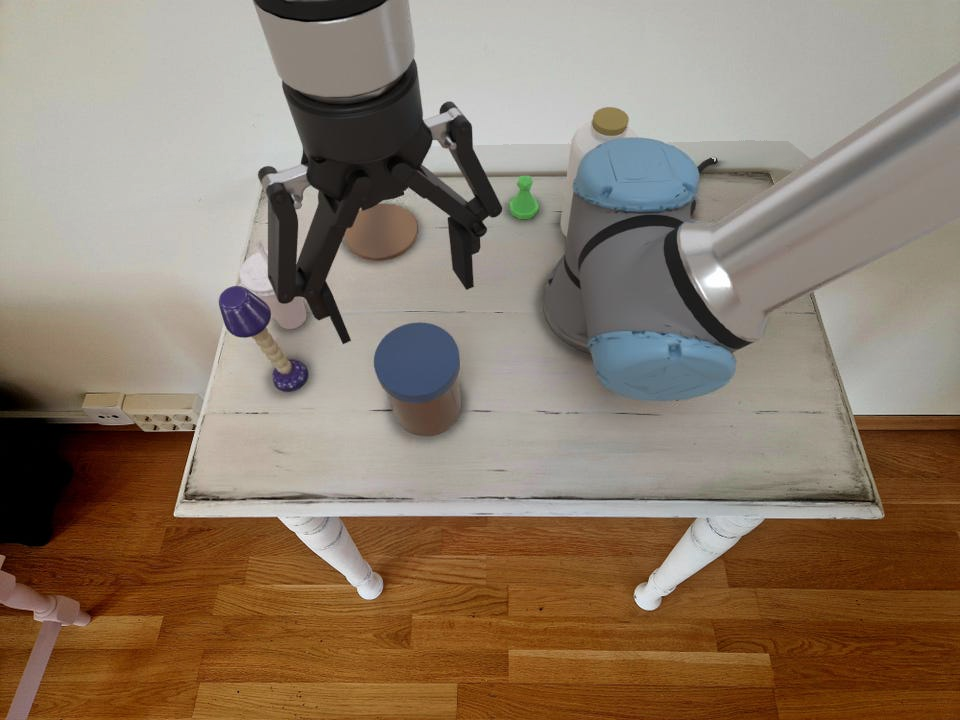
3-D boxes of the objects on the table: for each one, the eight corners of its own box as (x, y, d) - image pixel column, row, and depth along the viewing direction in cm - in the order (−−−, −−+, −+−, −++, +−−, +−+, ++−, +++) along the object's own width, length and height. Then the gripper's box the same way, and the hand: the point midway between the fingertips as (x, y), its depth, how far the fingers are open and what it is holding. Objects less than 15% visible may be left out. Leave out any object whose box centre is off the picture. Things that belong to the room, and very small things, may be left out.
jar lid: (438, 319, 62) (436, 309, 61) (475, 379, 58) (474, 371, 57) (364, 352, 60) (360, 343, 59) (397, 417, 56) (394, 410, 55)
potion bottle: (603, 202, 83) (628, 89, 68) (628, 242, 79) (660, 132, 64) (550, 216, 82) (563, 104, 67) (573, 258, 78) (592, 149, 63)
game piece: (544, 213, 83) (547, 180, 78) (518, 223, 82) (519, 191, 77) (528, 194, 85) (531, 161, 80) (503, 204, 84) (504, 172, 79)
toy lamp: (297, 399, 68) (243, 319, 54) (262, 390, 69) (200, 309, 54) (313, 366, 70) (267, 280, 56) (279, 357, 71) (224, 271, 57)
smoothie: (326, 318, 74) (293, 244, 62) (284, 346, 72) (242, 276, 60) (299, 289, 77) (262, 213, 65) (258, 316, 74) (212, 242, 62)
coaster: (399, 197, 85) (399, 194, 85) (429, 243, 80) (429, 240, 80) (334, 222, 83) (333, 219, 82) (361, 271, 78) (360, 268, 77)
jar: (443, 365, 70) (435, 316, 61) (473, 417, 66) (469, 373, 57) (383, 393, 68) (365, 347, 59) (410, 448, 65) (397, 407, 56)
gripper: (501, -24, 36) (499, 227, 54) (116, 94, 30) (262, 326, 49) (566, 35, 32) (540, 281, 51) (144, 180, 27) (289, 394, 46)
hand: (403, 303), depth 50 cm, fingers open, 11 cm apart
